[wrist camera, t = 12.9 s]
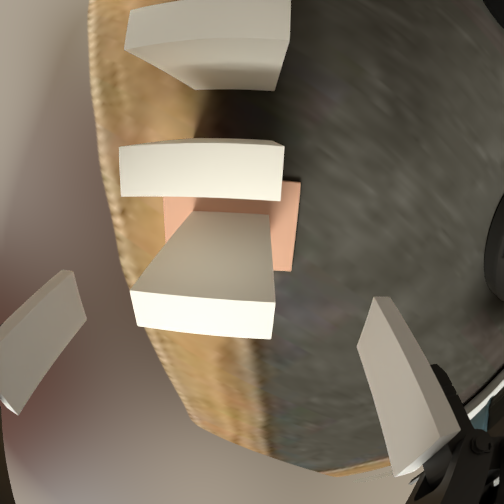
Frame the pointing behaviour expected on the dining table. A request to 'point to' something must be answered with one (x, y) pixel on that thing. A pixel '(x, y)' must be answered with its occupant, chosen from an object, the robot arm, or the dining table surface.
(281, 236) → the mat
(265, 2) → the domino
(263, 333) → the domino
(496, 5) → the coffee jar
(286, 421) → the dining table surface
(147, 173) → the domino
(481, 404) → the square plate
